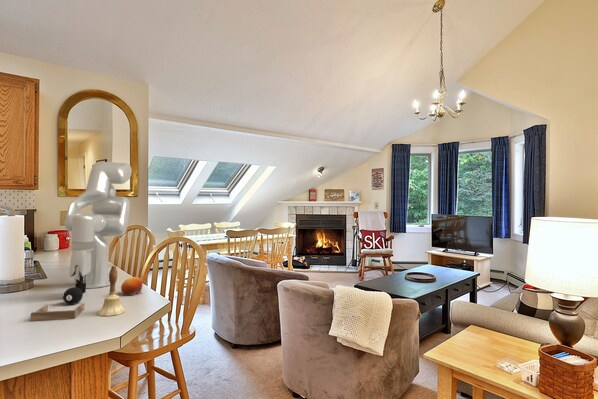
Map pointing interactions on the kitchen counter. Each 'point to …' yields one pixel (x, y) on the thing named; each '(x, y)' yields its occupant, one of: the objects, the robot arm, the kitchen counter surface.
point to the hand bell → (111, 298)
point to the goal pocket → (55, 314)
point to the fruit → (132, 286)
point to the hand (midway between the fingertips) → (80, 292)
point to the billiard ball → (72, 295)
